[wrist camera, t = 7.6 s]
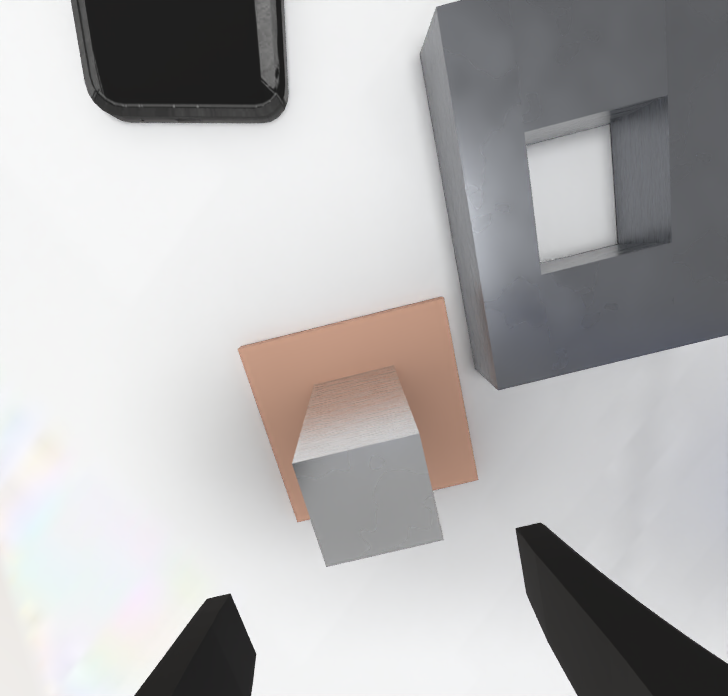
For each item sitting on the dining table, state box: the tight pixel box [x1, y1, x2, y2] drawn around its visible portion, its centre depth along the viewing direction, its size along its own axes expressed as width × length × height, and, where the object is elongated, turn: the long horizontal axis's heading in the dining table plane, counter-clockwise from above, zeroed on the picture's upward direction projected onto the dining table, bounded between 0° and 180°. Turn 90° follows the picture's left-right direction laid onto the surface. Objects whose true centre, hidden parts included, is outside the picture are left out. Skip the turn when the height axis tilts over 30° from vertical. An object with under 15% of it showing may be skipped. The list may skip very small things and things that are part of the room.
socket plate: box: [420, 0, 728, 390], centre depth 15 cm, size 14×10×3 cm
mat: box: [238, 297, 478, 522], centre depth 19 cm, size 10×10×1 cm
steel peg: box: [292, 365, 444, 567], centre depth 15 cm, size 4×4×7 cm
